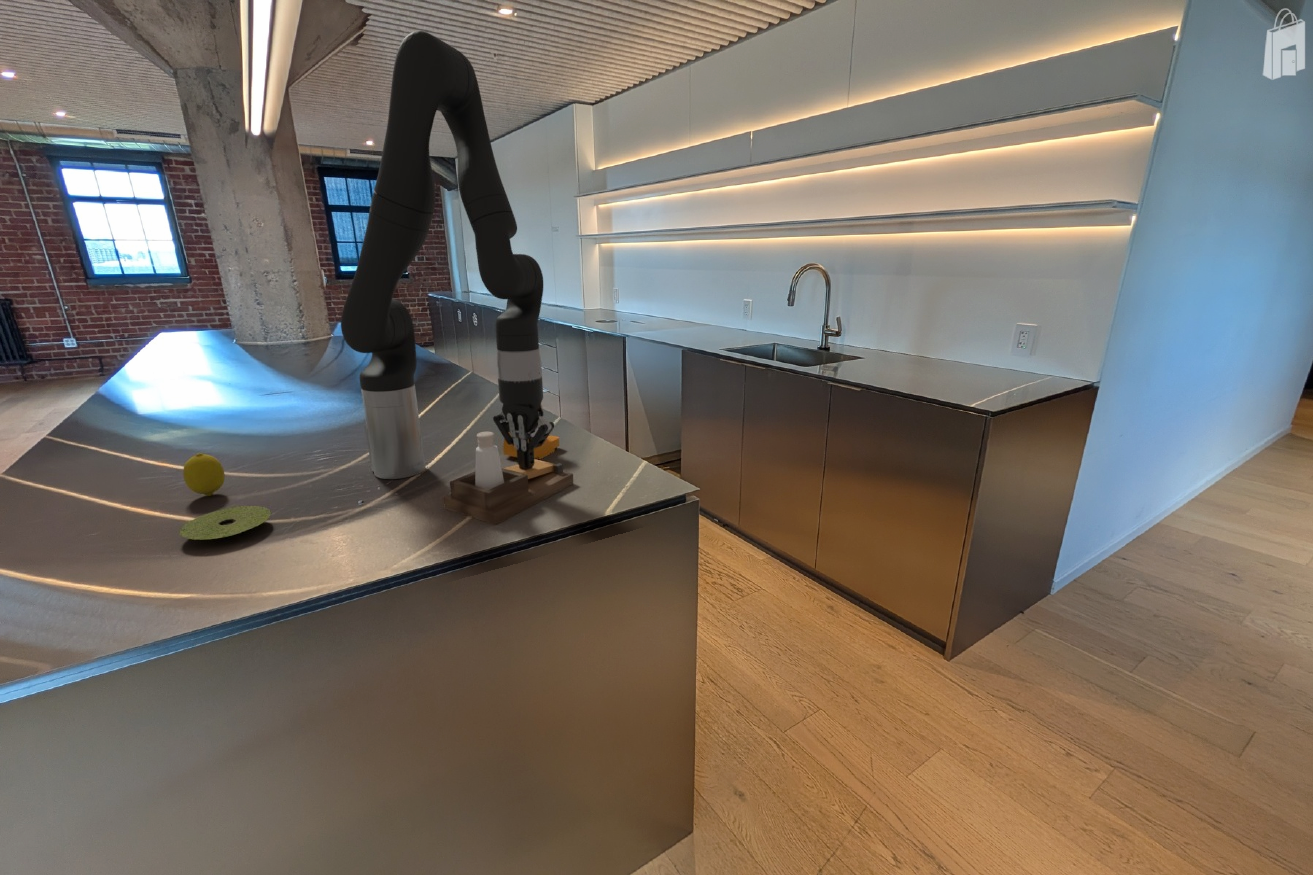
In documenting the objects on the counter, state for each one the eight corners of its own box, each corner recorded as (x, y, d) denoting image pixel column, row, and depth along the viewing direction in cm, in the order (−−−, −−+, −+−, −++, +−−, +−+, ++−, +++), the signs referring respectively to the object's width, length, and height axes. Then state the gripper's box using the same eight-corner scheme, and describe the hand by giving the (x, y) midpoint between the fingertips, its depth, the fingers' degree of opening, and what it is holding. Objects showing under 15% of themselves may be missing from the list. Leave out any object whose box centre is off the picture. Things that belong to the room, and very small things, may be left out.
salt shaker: (511, 489, 98) (507, 429, 95) (499, 502, 93) (494, 439, 90) (482, 487, 99) (476, 427, 96) (468, 500, 94) (462, 437, 90)
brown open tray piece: (444, 507, 95) (441, 480, 94) (525, 471, 112) (523, 447, 110) (495, 524, 90) (493, 496, 88) (573, 483, 106) (572, 458, 105)
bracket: (531, 463, 116) (528, 407, 112) (503, 458, 119) (499, 403, 115) (561, 448, 125) (559, 396, 122) (534, 443, 128) (531, 392, 125)
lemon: (186, 504, 95) (174, 460, 93) (193, 492, 100) (182, 450, 98) (226, 498, 98) (215, 455, 95) (231, 487, 103) (221, 446, 100)
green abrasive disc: (262, 543, 83) (259, 531, 83) (169, 556, 79) (165, 543, 79) (280, 511, 93) (278, 501, 93) (198, 522, 89) (195, 510, 89)
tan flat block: (503, 475, 102) (503, 467, 101) (537, 465, 109) (537, 458, 109) (524, 480, 99) (524, 473, 99) (557, 470, 107) (557, 463, 107)
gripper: (563, 375, 97) (567, 468, 103) (507, 367, 103) (514, 455, 109) (534, 383, 91) (540, 482, 96) (476, 374, 97) (484, 467, 103)
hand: (526, 468), depth 103 cm, fingers closed
